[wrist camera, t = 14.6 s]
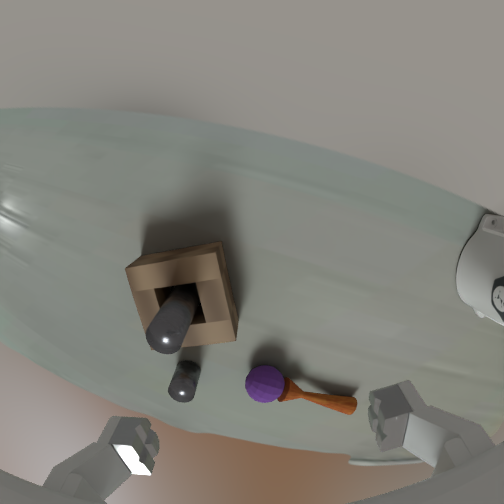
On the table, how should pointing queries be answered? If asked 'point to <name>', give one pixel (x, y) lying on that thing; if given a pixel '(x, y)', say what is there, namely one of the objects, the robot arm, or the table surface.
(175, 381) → the short pin
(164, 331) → the long pin
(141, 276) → the hole block
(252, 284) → the table surface
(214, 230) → the table surface
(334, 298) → the table surface
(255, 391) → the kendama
